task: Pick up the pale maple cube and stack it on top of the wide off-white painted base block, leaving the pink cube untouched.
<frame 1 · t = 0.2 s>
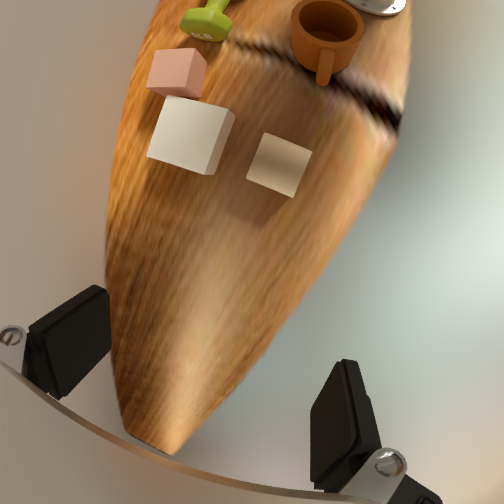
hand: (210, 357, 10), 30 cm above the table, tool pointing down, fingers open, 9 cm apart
dumbbell: (226, 8, 30), on the table
base block: (197, 136, 37), on the table
mug: (319, 57, 31), on the table
pink cube: (185, 79, 34), on the table
maple cube: (280, 166, 36), on the table
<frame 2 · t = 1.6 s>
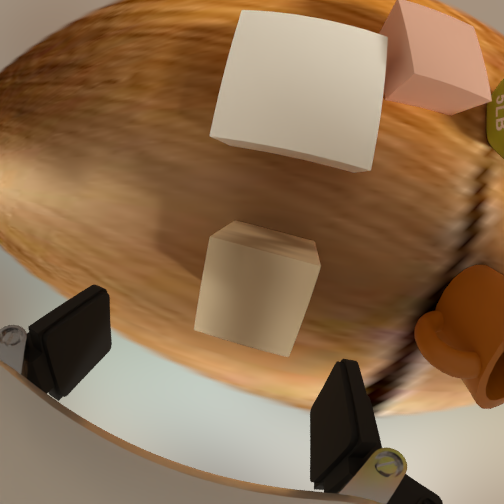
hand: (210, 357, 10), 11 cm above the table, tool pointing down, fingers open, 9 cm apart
base block: (303, 100, 17), on the table
mug: (457, 307, 19), on the table
pink cube: (415, 74, 15), on the table
maple cube: (264, 268, 21), on the table
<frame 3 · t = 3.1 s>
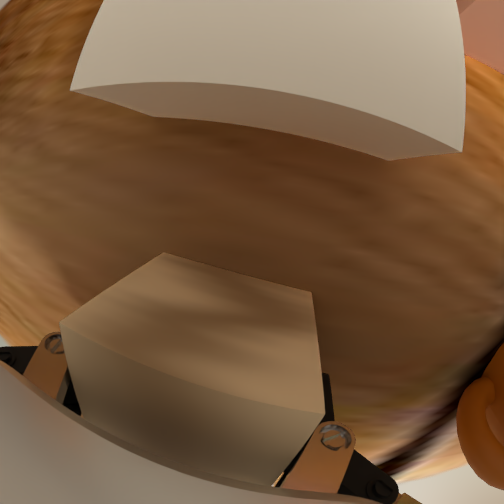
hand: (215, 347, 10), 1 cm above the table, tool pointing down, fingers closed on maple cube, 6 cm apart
base block: (288, 30, 8), on the table
pink cube: (466, 16, 5), on the table
maple cube: (221, 335, 11), on the table, touching gripper
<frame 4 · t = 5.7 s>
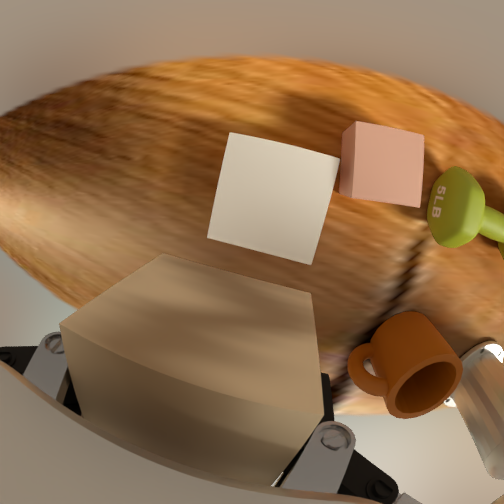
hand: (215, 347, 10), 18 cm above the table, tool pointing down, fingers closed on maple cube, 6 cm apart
dumbbell: (474, 218, 23), on the table
base block: (275, 194, 26), on the table
mug: (390, 340, 28), on the table
pink cube: (369, 167, 24), on the table
maple cube: (220, 336, 11), point 17 cm above the table, touching gripper
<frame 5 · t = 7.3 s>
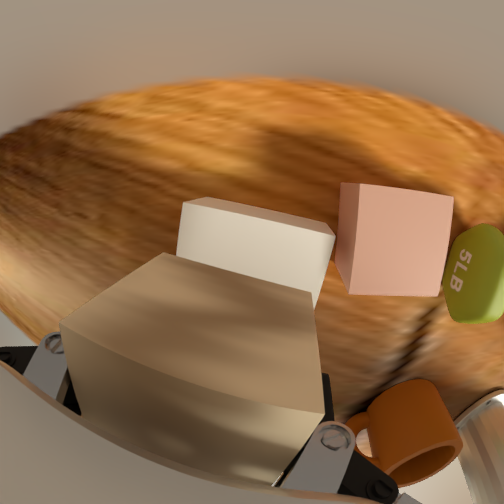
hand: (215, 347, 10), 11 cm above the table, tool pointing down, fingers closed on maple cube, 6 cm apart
dumbbell: (496, 272, 18), on the table
base block: (254, 265, 21), on the table
mug: (390, 406, 23), on the table
pink cube: (375, 226, 19), on the table
maple cube: (220, 335, 11), point 10 cm above the table, touching gripper
when the fingers open (7 cm above the table, at t = 8.5 s): maple cube drops 1 cm, point 5 cm above the table.
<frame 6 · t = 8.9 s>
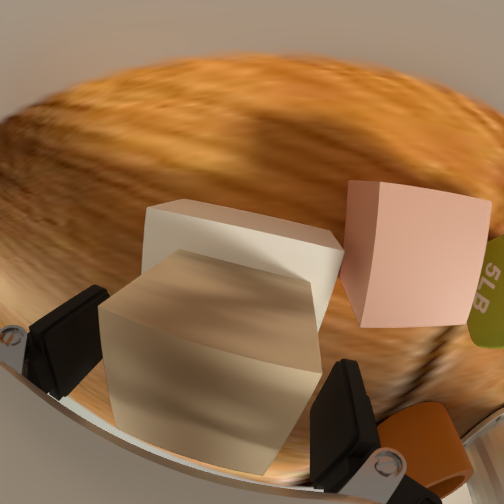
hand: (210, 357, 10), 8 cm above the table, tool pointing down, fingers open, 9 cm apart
base block: (242, 281, 17), on the table
mug: (395, 429, 20), on the table
pink cube: (390, 233, 15), on the table
maple cube: (230, 323, 13), point 5 cm above the table
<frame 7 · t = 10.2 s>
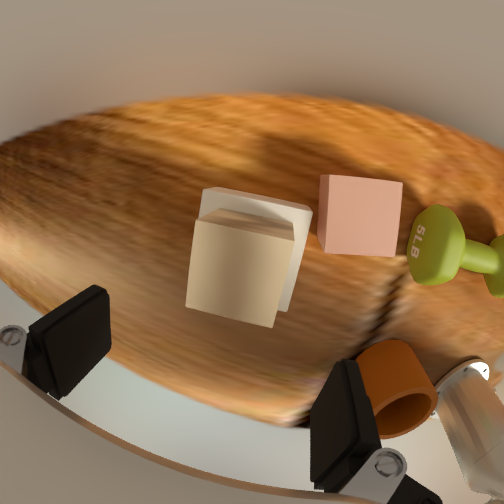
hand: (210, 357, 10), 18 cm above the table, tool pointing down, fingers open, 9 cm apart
dumbbell: (458, 247, 25), on the table
base block: (253, 239, 27), on the table, touching maple cube
mug: (372, 365, 30), on the table
pink cube: (348, 207, 25), on the table
maple cube: (248, 250, 22), point 5 cm above the table, touching base block
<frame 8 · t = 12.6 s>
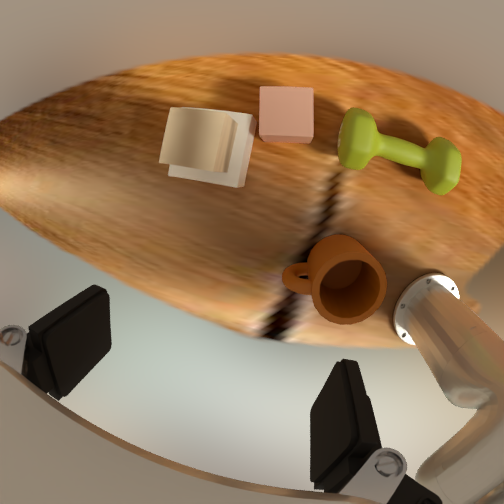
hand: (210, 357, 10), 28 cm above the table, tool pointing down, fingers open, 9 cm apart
dumbbell: (391, 153, 32), on the table
base block: (218, 148, 35), on the table, touching maple cube
mug: (327, 262, 37), on the table
pink cube: (287, 121, 33), on the table
maple cube: (208, 144, 30), point 5 cm above the table, touching base block
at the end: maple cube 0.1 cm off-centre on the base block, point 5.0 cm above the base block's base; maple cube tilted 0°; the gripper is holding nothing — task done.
